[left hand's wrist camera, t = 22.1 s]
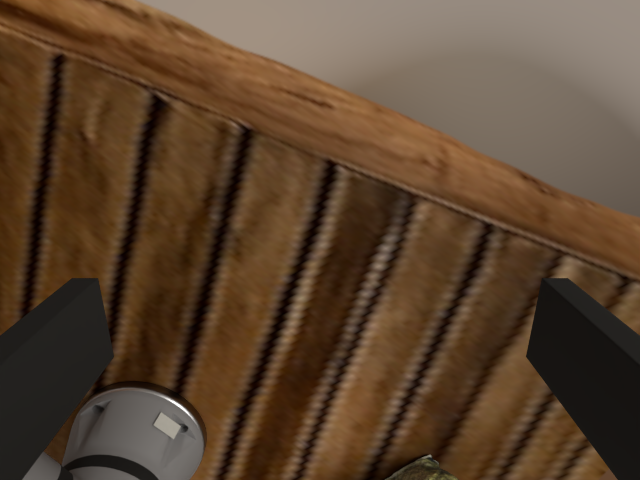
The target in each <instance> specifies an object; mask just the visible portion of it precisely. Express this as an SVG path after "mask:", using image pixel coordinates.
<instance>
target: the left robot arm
mask: <svg viewBox="0 0 640 480" xmlns="http://www.w3.org/2000/svg"><path fill="white" fill-rule="evenodd" d="M113 357H114V355H113V350H112V345H111V340H110V335H109V330H108V325H107V320H106V315H105V311H104V306H103V301H102V296H101V291H100V286H99V281H98V278H72V279H71V280H69V281H68V282H67V283H66V284H64V285H63V286H62V287H61V288H59V289H58V290H57V291H56V292H54V293H53V294H52V295H51V296H49V297H48V298H47V299H46V300H44V301H43V302H42V303H41V304H39V305H38V306H37V307H36V308H34V309H33V310H32V311H31V312H29V313H28V314H27V315H26V316H24V317H23V318H22V319H21V320H19V321H18V322H17V323H16V324H14V325H13V326H12V327H11V328H9V329H8V330H7V331H6V332H4V333H3V334H2V335H1V336H0V480H190V478H191V477H192V476H193V474H194V473H195V471H196V470H197V468H198V466H199V464H200V462H201V460H202V457H203V453H204V450H205V447H206V442H207V434H206V428H205V425H204V422H203V420H202V418H201V416H200V415H199V413H198V412H197V410H196V409H195V408H194V407H193V406H192V405H191V404H190V403H189V402H188V401H187V400H186V399H184V398H183V397H182V396H180V395H179V394H177V393H175V392H173V391H172V390H169V389H167V388H165V387H162V386H159V385H155V384H151V383H146V382H122V383H117V384H113V385H110V386H107V387H105V388H103V389H101V390H99V391H97V392H96V393H95V394H93V395H92V396H91V397H90V398H89V399H88V400H87V402H86V403H85V404H84V406H83V407H82V408H81V410H80V411H79V413H78V414H77V416H76V418H75V421H74V423H73V425H72V428H71V432H70V436H69V440H68V443H67V447H66V451H65V455H64V458H63V462H62V466H61V465H60V464H59V463H58V462H57V461H55V460H54V459H53V458H51V457H50V456H49V455H47V454H46V453H45V452H43V451H44V450H45V448H46V447H47V446H48V444H49V443H50V442H51V440H52V439H53V438H54V436H55V435H56V434H57V432H58V431H59V430H60V428H61V427H62V426H63V424H64V423H65V422H66V420H67V419H68V418H69V416H70V415H71V414H72V412H73V411H74V409H75V408H76V407H77V405H78V404H79V403H80V401H81V400H82V399H83V397H84V396H85V395H86V393H87V392H88V391H89V389H90V388H91V387H92V385H93V384H94V383H95V381H96V380H97V379H98V377H99V376H100V375H101V373H102V372H103V371H104V369H105V368H106V367H107V365H108V364H109V363H110V361H111V360H112V359H113ZM526 357H527V359H528V360H529V361H530V363H531V364H532V365H533V367H534V368H535V369H536V371H537V372H538V373H539V375H540V376H541V377H542V379H543V380H544V381H545V383H546V384H547V385H548V387H549V388H550V389H551V391H552V392H553V393H554V395H555V396H556V397H557V399H558V400H559V401H560V403H561V404H562V405H563V407H564V408H565V409H566V411H567V412H568V414H569V415H570V416H571V418H572V419H573V420H574V422H575V423H576V424H577V426H578V427H579V428H580V430H581V431H582V432H583V434H584V435H585V436H586V438H587V439H588V440H589V442H590V443H591V444H592V446H593V447H594V448H595V450H596V451H597V452H598V454H599V455H600V456H601V458H602V459H603V460H604V462H605V463H606V464H607V466H608V467H609V469H610V470H611V471H612V473H613V474H614V475H615V477H616V478H617V479H618V480H640V336H639V335H638V334H637V333H636V332H634V331H633V330H632V329H631V328H629V327H628V326H627V325H626V324H624V323H623V322H622V321H621V320H619V319H618V318H617V317H616V316H614V315H613V314H612V313H611V312H609V311H608V310H607V309H606V308H604V307H603V306H602V305H601V304H599V303H598V302H597V301H596V300H594V299H593V298H592V297H591V296H589V295H588V294H587V293H586V292H584V291H583V290H582V289H581V288H579V287H578V286H577V285H576V284H574V283H573V282H572V281H571V280H569V279H568V278H542V281H541V286H540V291H539V296H538V301H537V306H536V311H535V315H534V320H533V325H532V330H531V335H530V340H529V345H528V350H527V355H526Z"/></svg>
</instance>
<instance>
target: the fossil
mask: <svg viewBox="0 0 640 480" xmlns="http://www.w3.org/2000/svg"><path fill="white" fill-rule="evenodd" d="M385 480H459V479H457V478H456V477H455V476H453V475H452V474H450V473H449V472H447V471H445V470H442V469H440V468H439V464H438V462H437V461H435V460H433V459H432V457H431V455H428V456H425V457H422V458H420V459H417V460H416V461H415V462H413V463H411V464H409V465H407V466H405V467H403V468H402V469H400V470H399V471H397V472H395V473H394V474H393V475H392V476H391V477H389V478H387V479H385Z"/></svg>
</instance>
